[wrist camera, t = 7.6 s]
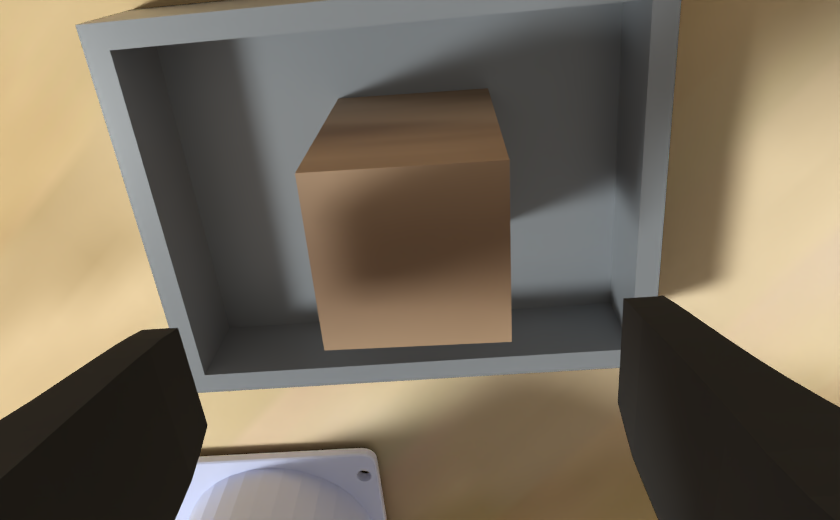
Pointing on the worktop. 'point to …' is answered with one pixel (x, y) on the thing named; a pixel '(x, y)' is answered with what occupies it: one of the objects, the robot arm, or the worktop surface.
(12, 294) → the worktop surface
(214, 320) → the bin
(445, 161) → the walnut block
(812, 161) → the worktop surface
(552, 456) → the worktop surface
